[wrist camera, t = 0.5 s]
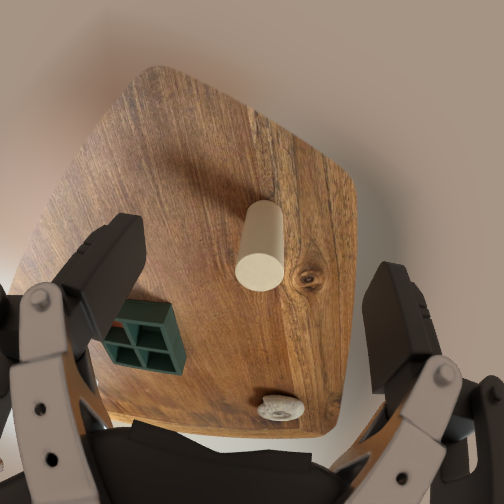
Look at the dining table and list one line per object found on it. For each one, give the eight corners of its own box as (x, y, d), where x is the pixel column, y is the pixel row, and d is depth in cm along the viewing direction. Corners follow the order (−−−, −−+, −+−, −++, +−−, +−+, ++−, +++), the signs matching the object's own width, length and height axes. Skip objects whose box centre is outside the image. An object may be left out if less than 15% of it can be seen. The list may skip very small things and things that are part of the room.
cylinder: (246, 199, 32) (233, 252, 23) (283, 200, 31) (285, 253, 23) (246, 231, 34) (236, 290, 26) (282, 232, 34) (282, 292, 25)
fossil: (250, 409, 51) (302, 400, 50) (250, 393, 54) (299, 384, 53) (262, 429, 57) (307, 422, 56) (262, 415, 60) (305, 408, 59)
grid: (96, 295, 43) (85, 313, 39) (171, 303, 42) (163, 323, 38) (121, 347, 50) (113, 363, 47) (186, 356, 49) (181, 375, 46)
